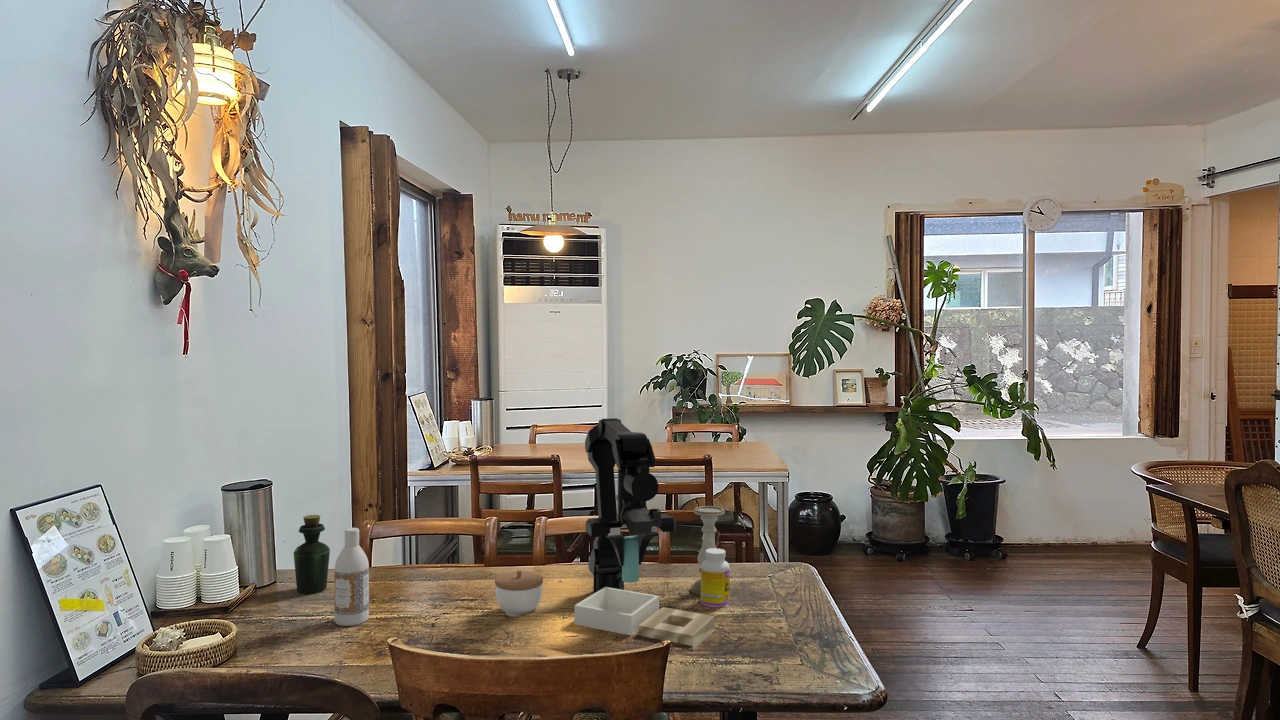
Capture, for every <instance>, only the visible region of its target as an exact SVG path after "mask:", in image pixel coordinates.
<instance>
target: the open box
mask: <svg viewBox="0 0 1280 720" xmlns="http://www.w3.org/2000/svg"><path fill="white" fill-rule="evenodd" d="M658 610H660V595H656V594H650V593H643V592H638V591H633V590H625V589H624V590H621V589H615V588H609V587H604V588H603V589H601V590H599V591H598V592H596V593H593V594H591V595H589V596H587V597H585V599H583V600H581V601H580V602H577V603H576V604H574V614H573V615H574V617H573V618H574V625H577V626H582V627H586V628H592V629H596V630H597V629H598V630H601V631H607V632H612V633H617V634H621V635H626V636H630V637H632V636H634V635H635V634H636V633H638V632H639V625H640V624H641V623H643V622H644V621H645V620H647V619H648V618H649V617H650V616H652V615H653V614H654V613H656V612H657V611H658Z"/></svg>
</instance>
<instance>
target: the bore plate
mask: <svg viewBox="0 0 1280 720" xmlns="http://www.w3.org/2000/svg"><path fill="white" fill-rule="evenodd" d="M714 631H715V615H710V614H705V613H700V612H693V611H688V610H681V609H677V608H669V607H661V608H659V610H658V611H657V612H656V613H654V614H653V615H652V616H650V617H649V618H648V619H647V620H645V621H644V622H643V623H641V624H640V625H639V630H638V636H639V637H643V638H644V637H645V638H650V639H655V640H660V641H664V640H670V641H671V642H670V643H675V644H680V645H684V646H685V645H686V646H689V647H691V648H690V649H689V651H691V652H694V651H695V650H696V649H697V648H698V647H699V646H700V645H701V644H702V643H703V642H704V641H705V640H706V639H707V638H709V636H710V635H711V634H712V633H713V632H714Z"/></svg>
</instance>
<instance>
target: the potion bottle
mask: <svg viewBox="0 0 1280 720" xmlns="http://www.w3.org/2000/svg"><path fill="white" fill-rule="evenodd" d="M302 519H303V522H304V524H303V525H301V526H300V527H299V529H298V533H299V534H300V533H301V534H303V538H304V540H305V541H304V543H302V544H300V545H299V546H297V547H296V548H295V550H294V551H293V562H294V572H295V573H294V574H295V582H296V591H297V592H298V593H299V594H302V595H313V594H318V593H322V592H323V591H325V590H326V589H327V584H328V575H329V564H330V551H331V549H330V547H329V546H328V544H327V543H324V542H321V541H319V539H320V536H321V533H322V532H324V531H325V530H326V528H325V525H324V524H323V523H320V520H321V515H320V514H307V515H305V516H303V518H302Z"/></svg>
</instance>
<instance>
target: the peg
mask: <svg viewBox="0 0 1280 720" xmlns="http://www.w3.org/2000/svg"><path fill="white" fill-rule="evenodd" d="M624 536H625V537H623V542H622V544H623V557H624V563H623V566H622V581H623V582H624V583H630V584H633V583H637V582H639V580H640V565H639V537H638V536H637V535H627V536H626V535H624Z"/></svg>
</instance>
